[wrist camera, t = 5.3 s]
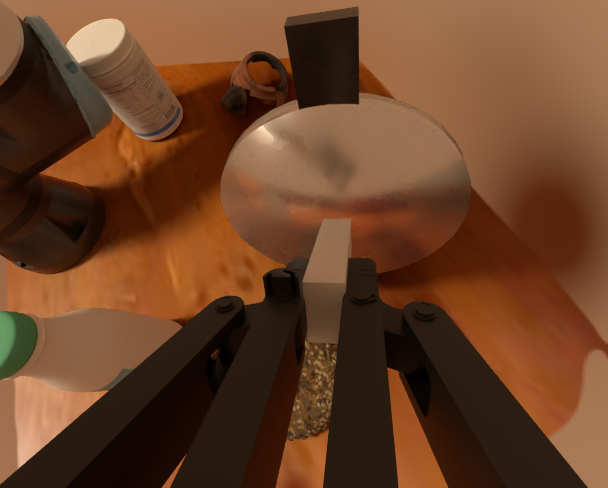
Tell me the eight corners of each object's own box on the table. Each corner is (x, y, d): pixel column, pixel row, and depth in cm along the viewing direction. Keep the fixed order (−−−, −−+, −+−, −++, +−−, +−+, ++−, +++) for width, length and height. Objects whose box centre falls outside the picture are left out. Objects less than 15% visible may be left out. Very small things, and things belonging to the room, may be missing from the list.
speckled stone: (378, 391, 33) (381, 396, 29) (283, 454, 33) (270, 470, 28) (317, 294, 38) (311, 286, 34) (234, 348, 38) (216, 347, 33)
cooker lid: (144, 37, 14) (133, 48, 14) (550, -23, 11) (563, -13, 10) (260, 264, 31) (258, 274, 30) (437, 266, 27) (439, 277, 27)
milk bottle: (149, 315, 41) (-25, 280, 22) (199, 326, 39) (55, 298, 21) (127, 375, 38) (-88, 392, 20) (179, 390, 37) (-4, 423, 18)
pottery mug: (251, 76, 55) (260, 36, 47) (289, 113, 55) (305, 79, 48) (203, 109, 49) (206, 69, 42) (246, 149, 50) (256, 117, 43)
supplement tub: (133, 115, 56) (60, 35, 42) (179, 94, 55) (121, 7, 42) (140, 152, 52) (62, 76, 38) (190, 129, 51) (130, 45, 38)
